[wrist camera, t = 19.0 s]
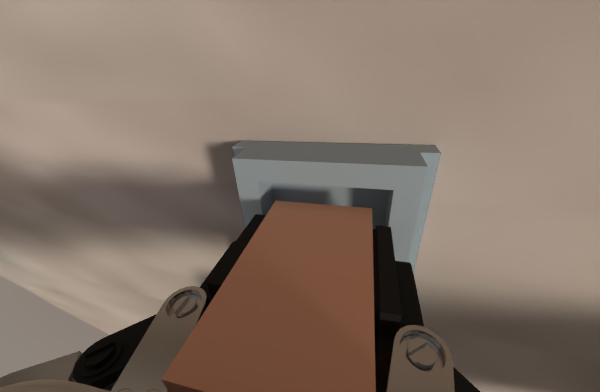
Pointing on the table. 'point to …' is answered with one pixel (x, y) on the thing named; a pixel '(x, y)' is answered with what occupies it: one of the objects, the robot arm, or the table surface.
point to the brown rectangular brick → (290, 309)
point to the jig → (342, 182)
